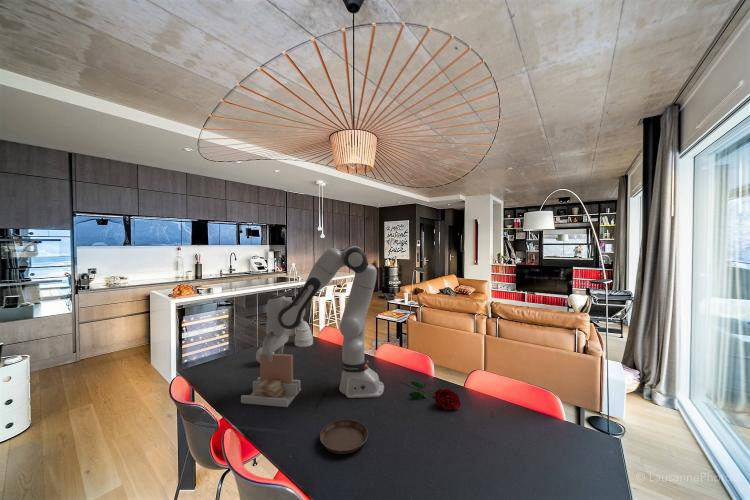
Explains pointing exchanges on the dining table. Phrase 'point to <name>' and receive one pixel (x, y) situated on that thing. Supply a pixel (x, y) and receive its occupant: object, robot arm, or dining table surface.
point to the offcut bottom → (280, 395)
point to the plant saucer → (344, 436)
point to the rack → (290, 394)
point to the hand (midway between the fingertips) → (275, 357)
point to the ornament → (259, 354)
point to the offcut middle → (270, 393)
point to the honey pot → (303, 335)
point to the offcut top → (269, 385)
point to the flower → (439, 396)
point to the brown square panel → (277, 368)
